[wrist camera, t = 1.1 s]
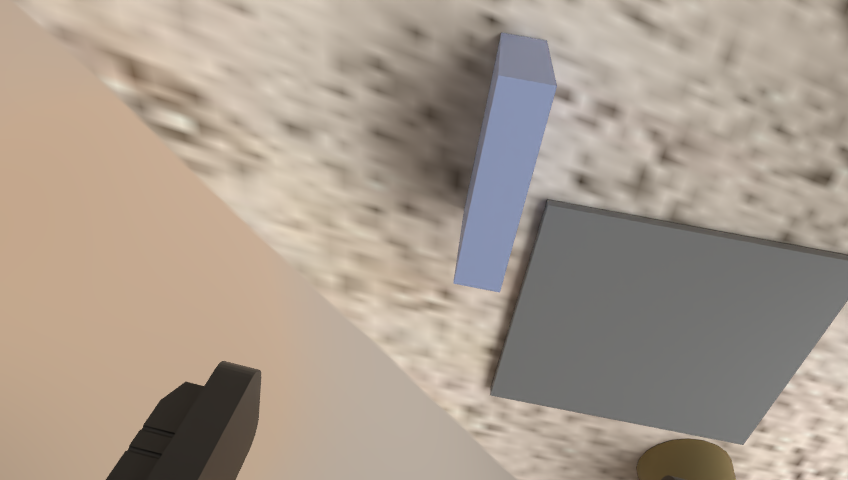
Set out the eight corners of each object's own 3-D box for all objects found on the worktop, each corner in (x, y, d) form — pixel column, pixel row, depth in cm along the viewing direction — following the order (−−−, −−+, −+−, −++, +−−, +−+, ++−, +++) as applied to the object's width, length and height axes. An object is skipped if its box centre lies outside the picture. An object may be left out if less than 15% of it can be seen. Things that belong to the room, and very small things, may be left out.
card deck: (546, 40, 24) (556, 85, 19) (502, 216, 29) (499, 292, 24) (501, 32, 24) (498, 75, 19) (464, 209, 29) (453, 283, 24)
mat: (866, 258, 28) (872, 265, 27) (739, 437, 36) (743, 444, 35) (547, 199, 28) (548, 205, 28) (490, 388, 36) (490, 395, 36)
